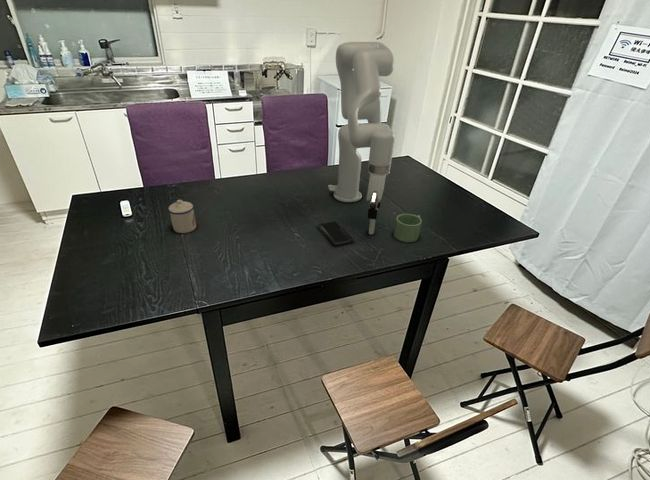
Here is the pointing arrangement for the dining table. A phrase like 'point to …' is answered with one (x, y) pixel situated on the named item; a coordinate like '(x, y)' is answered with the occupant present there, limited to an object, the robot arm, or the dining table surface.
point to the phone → (335, 233)
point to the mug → (407, 227)
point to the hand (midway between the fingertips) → (373, 212)
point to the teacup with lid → (182, 216)
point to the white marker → (372, 225)
